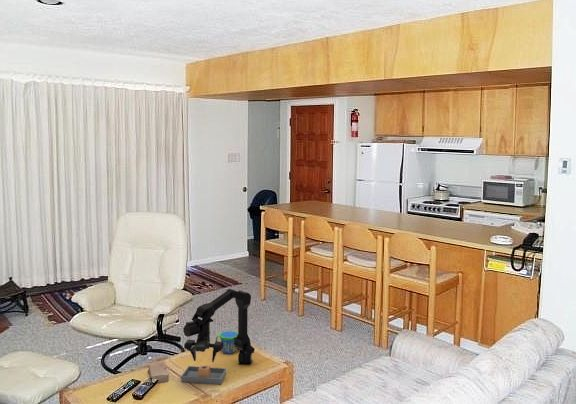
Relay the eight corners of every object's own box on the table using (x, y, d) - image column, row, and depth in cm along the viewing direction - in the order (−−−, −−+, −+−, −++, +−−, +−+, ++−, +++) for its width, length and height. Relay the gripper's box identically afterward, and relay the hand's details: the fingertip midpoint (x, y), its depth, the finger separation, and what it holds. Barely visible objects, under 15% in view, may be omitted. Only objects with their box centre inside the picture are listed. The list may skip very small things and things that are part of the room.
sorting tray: (226, 374, 268) (226, 368, 268) (220, 384, 256) (220, 379, 256) (188, 371, 270) (188, 365, 270) (181, 382, 259) (181, 376, 258)
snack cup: (245, 349, 299) (245, 332, 298) (238, 357, 289) (238, 339, 288) (220, 346, 304) (220, 329, 302) (212, 353, 293) (212, 335, 292)
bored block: (210, 374, 265) (210, 365, 265) (207, 379, 261) (207, 369, 260) (200, 374, 266) (200, 364, 265) (198, 378, 261) (198, 369, 260)
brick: (169, 382, 259) (169, 373, 258) (151, 384, 256) (151, 375, 255) (164, 368, 274) (164, 360, 274) (148, 370, 271) (148, 362, 271)
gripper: (180, 336, 253) (180, 367, 255) (218, 338, 251) (218, 369, 253) (187, 328, 264) (187, 357, 266) (223, 330, 262) (223, 360, 264)
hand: (203, 361), depth 262 cm, fingers open, 9 cm apart
